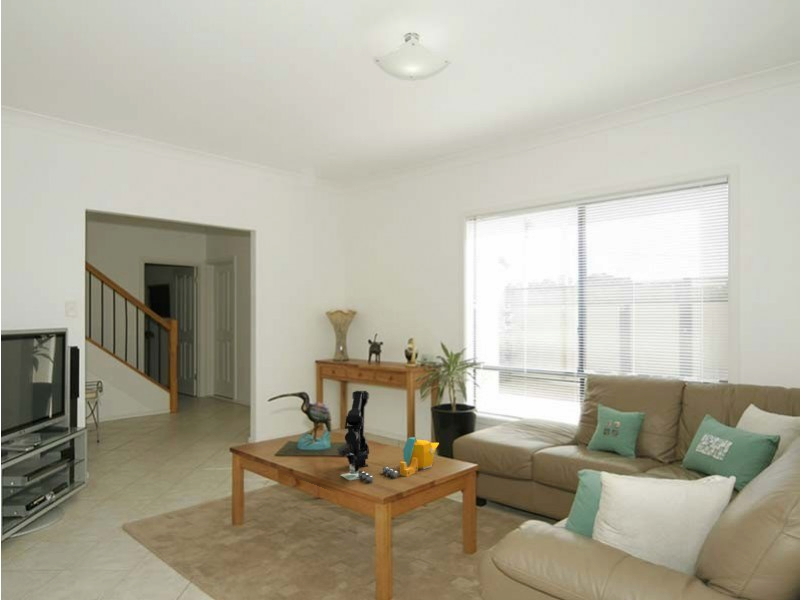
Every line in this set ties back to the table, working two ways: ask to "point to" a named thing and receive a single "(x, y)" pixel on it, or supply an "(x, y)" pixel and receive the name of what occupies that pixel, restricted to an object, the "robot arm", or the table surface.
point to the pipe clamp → (411, 469)
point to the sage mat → (350, 476)
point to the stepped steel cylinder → (352, 469)
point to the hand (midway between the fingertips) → (354, 470)
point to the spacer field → (369, 478)
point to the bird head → (419, 452)
